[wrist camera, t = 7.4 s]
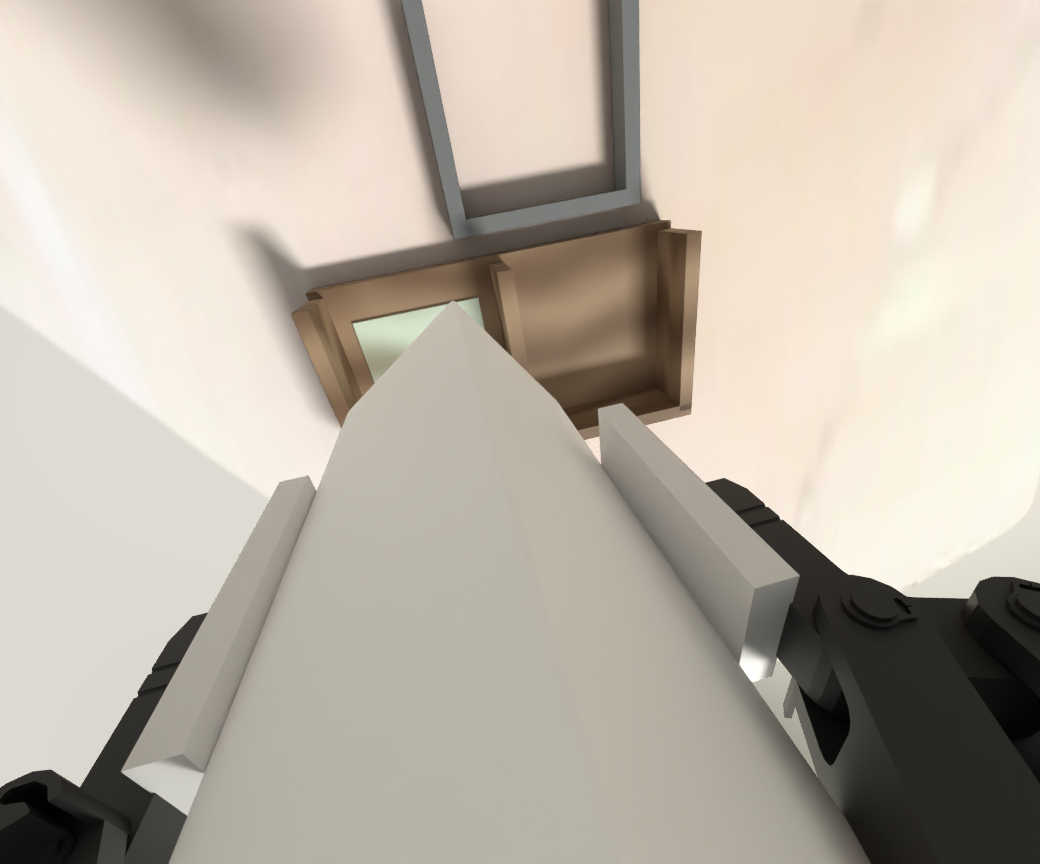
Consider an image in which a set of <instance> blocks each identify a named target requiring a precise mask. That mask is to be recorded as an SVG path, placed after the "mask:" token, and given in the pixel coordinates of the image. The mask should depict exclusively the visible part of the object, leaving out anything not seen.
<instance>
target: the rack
mask: <svg viewBox="0 0 1040 864" xmlns="http://www.w3.org/2000/svg"><path fill="white" fill-rule="evenodd" d="M701 235H702V231H696V230H684V229H673V228H671V221H669V220H659V221H653V222H648V223H643V224H638V225H633V226H628V227H623V228H618V229H613V230H608V231H603V232H598V233H593V234H588V235H583V236H578V237H573V238H568V239H563V240H558V241H553V242H548V243H543V244H538V245H533V246H528V247H523V248H518V249H513V250H508V251H503V252H498V253H493V254H488V255H483V256H478V257H473V258H468V259H462V260H457V261H452V262H447V263H442V264H437V265H432V266H427V267H422V268H417V269H412V270H407V271H402V272H397V273H392V274H387V275H382V276H377V277H372V278H367V279H362V280H357V281H352V282H347V283H342V284H337V285H332V286H327V287H322V288H317V289H312V290H310V291H309V292H307V293H306V296H307V298H308V300H309V301H308V302H307V303H305V304H304V305H303V306H301V307H300V308H299V309H298V310H296V311H295V312H294V313H292V314H291V316H292V318H293V320H294V322H295V325H296V327H297V329H298V331H299V334H300V336H301V338H302V340H303V343H304V345H305V347H306V349H307V352H308V354H309V356H310V358H311V361H312V363H313V365H314V367H315V370H316V372H317V374H318V376H319V379H320V381H321V383H322V385H323V388H324V390H325V392H326V394H327V397H328V399H329V401H330V403H331V406H332V408H333V410H334V412H335V415H336V417H337V419H338V421H339V424H340V426H341V428H342V426H343V424H344V421H345V419H346V416H347V414H348V412H349V411H350V409H351V408H352V407H353V406H354V405H355V404H356V403H357V402H358V401H359V400H360V399H361V398H362V396H363V395H364V394H365V393H366V392H367V391H368V390H369V389H370V388H371V387H372V386H373V385H374V384H375V382H376V381H377V380H378V379H379V378H380V377H381V376H382V375H383V374H384V373H385V372H386V371H387V370H388V368H389V367H390V366H391V365H392V364H393V363H394V362H395V361H396V360H397V359H398V358H399V357H400V356H401V354H402V353H403V352H404V351H405V350H406V349H407V348H408V347H409V346H410V345H411V344H412V343H413V342H414V340H415V339H416V338H417V337H418V336H419V335H420V334H421V333H422V332H423V331H424V330H425V329H426V328H427V326H428V325H429V324H430V323H431V322H432V321H433V320H434V319H435V318H436V317H437V316H438V315H439V314H440V312H441V311H442V310H443V309H444V308H445V307H446V306H447V305H448V304H449V303H450V302H451V301H455V302H456V303H457V304H458V305H459V306H460V307H461V308H462V309H463V310H464V311H465V312H466V313H467V314H469V315H470V316H471V317H472V318H473V319H474V320H475V321H476V322H477V323H478V324H479V325H480V326H481V327H482V328H483V329H484V330H485V331H486V332H487V333H488V334H489V335H490V336H491V337H492V338H493V339H494V340H495V341H496V342H497V343H498V344H499V345H500V346H501V347H502V348H503V349H504V350H505V351H506V352H507V353H508V354H509V355H510V356H512V357H513V358H514V359H515V360H516V361H517V362H518V363H519V364H520V365H521V366H522V367H523V368H524V369H525V370H526V371H527V372H528V373H529V374H530V375H531V376H532V377H533V378H534V379H535V380H536V381H537V382H538V383H539V384H540V385H541V386H542V387H543V388H544V389H545V390H546V391H547V392H548V393H549V394H550V395H551V396H552V397H553V398H555V399H556V401H557V402H558V403H559V405H560V406H561V407H562V409H563V410H564V412H565V413H566V415H567V416H568V418H569V419H570V420H571V422H572V423H573V425H574V426H575V428H576V429H577V431H578V432H579V433H580V435H581V436H582V438H583V439H584V440H586V439H590V438H594V437H598V436H600V435H599V419H598V409H599V408H603V407H607V406H611V405H616V404H620V403H623V404H624V405H625V406H626V407H627V408H628V409H629V410H630V411H631V412H632V413H633V414H634V415H635V416H636V417H637V418H638V419H640V420H641V421H642V422H643V423H644V424H645V425H648V424H652V423H657V422H661V421H665V420H669V419H673V418H677V417H682V416H686V415H690V414H691V405H692V388H693V371H694V354H695V337H696V320H697V303H698V286H699V269H700V252H701Z"/></svg>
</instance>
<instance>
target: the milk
mask: <svg viewBox="0 0 1040 864" xmlns="http://www.w3.org/2000/svg"><path fill="white" fill-rule="evenodd" d="M169 864H871V862H870V861H869V859H868V857H867V855H866V853H865V852H864V850H863V848H862V846H861V844H860V843H859V841H858V839H857V837H856V835H855V834H854V832H853V830H852V828H851V826H850V825H849V823H848V821H847V819H846V818H845V816H844V815H843V813H842V812H841V811H840V809H839V808H838V806H837V805H836V803H835V802H834V800H833V799H832V798H831V796H830V795H829V793H828V792H827V790H826V789H825V787H824V786H823V785H822V783H821V782H820V780H819V779H818V777H817V776H816V774H815V773H814V772H813V770H812V769H811V767H810V766H809V764H808V763H807V761H806V760H805V759H804V757H803V756H802V754H801V753H800V751H799V750H798V749H797V747H796V746H795V744H794V743H793V741H792V740H791V739H790V737H789V735H788V734H787V733H786V731H785V730H784V728H783V727H782V725H781V724H780V722H779V721H778V720H777V718H776V717H775V715H774V714H773V712H772V711H771V710H770V708H769V707H768V705H767V704H766V702H765V701H764V699H763V698H762V697H761V695H760V694H759V692H758V691H757V689H756V688H755V686H754V685H753V684H752V682H751V681H750V679H749V678H748V676H747V675H746V673H745V672H744V670H743V669H742V668H741V666H740V665H739V663H738V662H737V661H736V659H735V658H734V656H733V655H732V653H731V652H730V650H729V649H728V648H727V646H726V645H725V643H724V642H723V640H722V639H721V637H720V636H719V635H718V633H717V632H716V630H715V629H714V627H713V626H712V624H711V623H710V622H709V620H708V619H707V617H706V616H705V614H704V613H703V611H702V610H701V609H700V607H699V606H698V604H697V603H696V601H695V600H694V598H693V597H692V595H691V594H690V593H689V591H688V590H687V588H686V587H685V585H684V584H683V582H682V581H681V580H680V578H679V577H678V575H677V574H676V572H675V571H674V569H673V568H672V567H671V565H670V564H669V562H668V561H667V559H666V558H665V556H664V555H663V554H662V552H661V551H660V549H659V548H658V546H657V545H656V543H655V542H654V541H653V539H652V538H651V536H650V535H649V533H648V532H647V530H646V529H645V528H644V526H643V525H642V523H641V522H640V520H639V519H638V517H637V516H636V514H635V513H634V512H633V510H632V509H631V507H630V506H629V504H628V503H627V501H626V500H625V499H624V497H623V496H622V494H621V493H620V491H619V490H618V488H617V487H616V486H615V484H614V483H613V481H612V480H611V478H610V477H609V475H608V474H607V473H606V471H605V470H604V468H603V467H602V465H601V464H600V462H599V461H598V459H597V458H596V457H595V455H594V454H593V452H592V451H591V449H590V448H589V446H588V445H587V444H586V442H585V441H584V439H583V438H582V436H581V435H580V433H579V432H578V431H577V429H576V428H575V426H574V425H573V423H572V422H571V420H570V419H569V418H568V416H567V415H566V413H565V412H564V410H563V409H562V407H561V406H560V405H559V403H558V402H557V401H556V399H555V398H553V397H552V396H551V395H550V394H549V393H548V392H547V391H546V390H545V389H544V388H543V387H542V386H541V385H540V384H539V383H538V382H537V381H536V380H535V379H534V378H533V377H532V376H531V375H530V374H529V373H528V372H527V371H526V370H525V369H524V368H523V367H522V366H521V365H520V364H519V363H518V362H517V361H516V360H515V359H514V358H513V357H512V356H510V355H509V354H508V353H507V352H506V351H505V350H504V349H503V348H502V347H501V346H500V345H499V344H498V343H497V342H496V341H495V340H494V339H493V338H492V337H491V336H490V335H489V334H488V333H487V332H486V331H485V330H484V329H483V328H482V327H481V326H480V325H479V324H478V323H477V322H476V321H475V320H474V319H473V318H472V317H471V316H470V315H469V314H467V313H466V312H465V311H464V310H463V309H462V308H461V307H460V306H459V305H458V304H457V303H456V302H455V301H451V302H450V303H449V304H448V305H447V306H446V307H445V308H444V309H443V310H442V311H441V312H440V314H439V315H438V316H437V317H436V318H435V319H434V320H433V321H432V322H431V323H430V324H429V325H428V326H427V328H426V329H425V330H424V331H423V332H422V333H421V334H420V335H419V336H418V337H417V338H416V339H415V340H414V342H413V343H412V344H411V345H410V346H409V347H408V348H407V349H406V350H405V351H404V352H403V353H402V354H401V356H400V357H399V358H398V359H397V360H396V361H395V362H394V363H393V364H392V365H391V366H390V367H389V368H388V370H387V371H386V372H385V373H384V374H383V375H382V376H381V377H380V378H379V379H378V380H377V381H376V382H375V384H374V385H373V386H372V387H371V388H370V389H369V390H368V391H367V392H366V393H365V394H364V395H363V396H362V398H361V399H360V400H359V401H358V402H357V403H356V404H355V405H354V406H353V407H352V408H351V409H350V411H349V412H348V414H347V416H346V419H345V421H344V424H343V426H342V429H341V431H340V434H339V436H338V439H337V441H336V444H335V446H334V449H333V451H332V454H331V456H330V459H329V462H328V464H327V467H326V469H325V472H324V474H323V477H322V479H321V482H320V484H319V487H318V489H317V492H316V494H315V497H314V499H313V502H312V504H311V507H310V509H309V512H308V514H307V517H306V519H305V522H304V524H303V527H302V529H301V532H300V534H299V537H298V539H297V542H296V544H295V547H294V549H293V552H292V554H291V557H290V559H289V562H288V565H287V567H286V570H285V572H284V575H283V577H282V580H281V582H280V585H279V587H278V590H277V592H276V595H275V597H274V600H273V602H272V605H271V607H270V610H269V612H268V615H267V617H266V620H265V622H264V625H263V627H262V630H261V632H260V635H259V637H258V640H257V642H256V645H255V647H254V650H253V652H252V655H251V657H250V660H249V663H248V665H247V668H246V670H245V673H244V675H243V678H242V680H241V683H240V685H239V688H238V690H237V693H236V695H235V698H234V700H233V703H232V705H231V708H230V710H229V713H228V715H227V718H226V720H225V723H224V725H223V728H222V730H221V733H220V735H219V738H218V740H217V743H216V745H215V748H214V750H213V753H212V755H211V758H210V761H209V763H208V766H207V768H206V771H205V773H204V776H203V778H202V781H201V783H200V786H199V788H198V791H197V793H196V796H195V798H194V801H193V803H192V806H191V808H190V811H189V813H188V816H187V818H186V821H185V823H184V826H183V828H182V831H181V833H180V836H179V838H178V841H177V843H176V846H175V848H174V851H173V853H172V856H171V858H170V861H169Z"/></svg>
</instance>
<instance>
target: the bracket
mask: <svg viewBox="0 0 1040 864" xmlns="http://www.w3.org/2000/svg"><path fill="white" fill-rule="evenodd" d="M401 3H402V8H403V13H404V17H405V22H406V26H407V31H408V35H409V40H410V44H411V49H412V53H413V58H414V62H415V67H416V71H417V76H418V80H419V85H420V89H421V94H422V98H423V103H424V107H425V112H426V116H427V121H428V125H429V130H430V134H431V139H432V143H433V148H434V152H435V157H436V161H437V166H438V170H439V175H440V179H441V184H442V188H443V193H444V198H445V202H446V207H447V211H448V216H449V220H450V225H451V229H452V234H453V238H454V239H461V238H466V237H471V236H476V235H481V234H486V233H491V232H496V231H502V230H507V229H512V228H517V227H522V226H527V225H532V224H538V223H543V222H548V221H553V220H558V219H563V218H568V217H574V216H579V215H584V214H589V213H594V212H599V211H604V210H609V209H615V208H620V207H625V206H630V205H635V204H640V203H641V178H640V70H639V0H608V10H609V38H610V65H611V92H612V119H613V147H614V174H615V190H614V191H609V192H604V193H599V194H594V195H588V196H583V197H578V198H573V199H567V200H562V201H557V202H552V203H546V204H541V205H536V206H531V207H525V208H520V209H515V210H510V211H505V212H499V213H494V214H489V215H484V216H478V217H473V218H468V219H466V217H465V212H464V207H463V202H462V197H461V193H460V188H459V183H458V178H457V173H456V168H455V163H454V158H453V153H452V148H451V143H450V138H449V133H448V129H447V124H446V119H445V114H444V109H443V104H442V99H441V94H440V89H439V84H438V79H437V74H436V69H435V65H434V60H433V55H432V50H431V45H430V40H429V35H428V30H427V25H426V20H425V15H424V10H423V6H422V1H421V0H401Z"/></svg>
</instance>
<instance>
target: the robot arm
mask: <svg viewBox="0 0 1040 864" xmlns="http://www.w3.org/2000/svg"><path fill="white" fill-rule="evenodd" d="M598 419H599V435H600V451H601V465H602V467H603V468H604V470H605V471H606V473H607V474H608V475H609V477H610V478H611V480H612V481H613V483H614V484H615V486H616V487H617V488H618V490H619V491H620V493H621V494H622V496H623V497H624V499H625V500H626V501H627V503H628V504H629V506H630V507H631V509H632V510H633V512H634V513H635V514H636V516H637V517H638V519H639V520H640V522H641V523H642V525H643V526H644V528H645V529H646V530H647V532H648V533H649V535H650V536H651V538H652V539H653V541H654V542H655V543H656V545H657V546H658V548H659V549H660V551H661V552H662V554H663V555H664V556H665V558H666V559H667V561H668V562H669V564H670V565H671V567H672V568H673V569H674V571H675V572H676V574H677V575H678V577H679V578H680V580H681V581H682V582H683V584H684V585H685V587H686V588H687V590H688V591H689V593H690V594H691V595H692V597H693V598H694V600H695V601H696V603H697V604H698V606H699V607H700V609H701V610H702V611H703V613H704V614H705V616H706V617H707V619H708V620H709V622H710V623H711V624H712V626H713V627H714V629H715V630H716V632H717V633H718V635H719V636H720V637H721V639H722V640H723V642H724V643H725V645H726V646H727V648H728V649H729V650H730V652H731V653H732V655H733V656H734V658H735V659H736V661H737V662H738V663H739V665H740V666H741V668H742V669H743V670H744V672H745V673H746V675H747V676H748V678H749V679H750V681H751V682H755V681H758V680H761V679H764V678H767V677H771V676H772V675H773V671H774V667H775V663H776V660H777V657H778V659H779V660H780V661H781V662H782V664H783V665H784V666H785V668H786V669H787V670H788V671H789V673H790V674H791V675H792V678H791V682H790V685H789V688H788V691H787V694H786V697H785V701H784V703H783V707H784V717H786V718H792V715H793V712H794V709H795V707H796V710H797V713H798V716H799V720H800V723H801V726H802V729H803V732H804V735H805V738H806V742H807V744H808V747H809V751H810V754H811V757H812V760H813V764H814V766H815V770H816V773H817V776H818V779H819V780H820V782H821V783H822V785H823V786H824V787H825V789H826V790H827V792H828V793H829V795H830V796H831V798H832V799H833V800H834V802H835V803H836V805H837V806H838V808H839V809H840V811H841V812H842V813H843V815H844V816H845V818H846V819H847V821H848V823H849V825H850V826H851V828H852V830H853V832H854V834H855V835H856V837H857V839H858V841H859V843H860V844H861V846H862V848H863V850H864V852H865V853H866V855H867V857H868V859H869V861H870V862H871V864H1040V584H1039V583H1036V582H1031V581H1027V580H1023V579H1019V578H1015V577H991V578H988V579H985V580H982V581H980V582H979V583H978V585H977V587H976V588H975V590H974V591H973V593H972V595H971V597H970V598H969V599H957V598H955V599H954V598H915V597H906V596H905V595H903V594H902V593H900V592H899V591H897V590H896V589H894V588H893V587H891V586H889V585H886V584H884V583H881V582H879V581H876V580H874V579H871V578H866V577H861V576H855V575H848V574H846V573H845V572H843V571H842V570H841V569H840V568H838V567H837V566H836V565H835V564H834V563H833V562H831V561H830V560H829V559H828V558H827V557H826V556H824V555H823V554H822V553H821V552H820V551H819V550H818V549H816V548H815V547H814V546H813V545H812V544H811V543H809V542H808V541H807V540H806V539H805V538H804V537H802V536H801V535H800V534H799V533H798V532H797V531H795V530H794V529H793V528H792V527H791V526H790V525H789V524H787V523H786V522H785V521H784V520H780V518H779V516H778V515H777V514H776V513H775V512H773V511H772V510H771V509H770V508H769V507H765V504H764V503H763V502H762V501H761V500H760V499H758V498H757V497H756V496H755V495H754V494H753V493H751V492H750V491H749V490H748V489H746V488H744V487H742V486H740V485H738V484H736V483H734V482H732V481H729V480H727V479H725V478H723V479H719V480H715V481H711V482H707V483H704V482H703V481H702V480H701V479H700V478H699V477H698V476H697V475H696V474H695V473H694V472H693V471H692V470H691V469H690V468H689V467H688V466H687V465H686V464H685V463H684V462H683V461H682V460H681V459H680V458H679V457H678V456H676V455H675V454H674V453H673V452H672V451H671V450H670V449H669V448H668V447H667V446H666V445H665V444H664V443H663V442H662V441H661V440H660V439H659V438H658V437H657V436H656V435H655V434H654V433H653V432H652V431H651V430H650V429H649V428H648V427H647V426H646V425H645V424H644V423H643V422H642V421H641V420H640V419H638V418H637V417H636V416H635V415H634V414H633V413H632V412H631V411H630V410H629V409H628V408H627V407H626V406H625V405H624V404H623V403H620V404H616V405H611V406H607V407H603V408H599V409H598ZM316 492H317V491H316V489H315V487H314V486H313V484H312V482H311V480H310V478H309V476H305V477H300V478H296V479H292V480H287V481H283V482H280V483H279V484H278V486H277V488H276V490H275V492H274V494H273V495H272V497H271V499H270V501H269V503H268V504H267V506H266V508H265V510H264V512H263V514H262V515H261V518H260V519H259V521H258V523H257V524H256V526H255V528H254V530H253V532H252V534H251V535H250V537H249V539H248V541H247V543H246V545H245V547H244V548H243V550H242V552H241V554H240V555H239V557H238V559H237V561H236V563H235V565H234V566H233V568H232V570H231V572H230V574H229V575H228V577H227V579H226V581H225V583H224V585H223V586H222V588H221V590H220V592H219V594H218V595H217V597H216V599H215V601H214V603H213V604H212V606H211V608H210V610H209V612H208V613H204V614H201V615H197V616H192V617H191V618H190V620H189V621H188V622H187V623H186V624H185V625H184V626H183V627H182V628H181V629H180V630H179V631H178V632H177V633H176V634H175V635H174V636H173V637H172V638H171V640H170V641H169V642H168V643H167V645H166V646H165V648H164V650H163V651H162V653H161V654H160V656H159V658H158V659H157V661H156V663H155V664H154V666H153V668H152V674H149V675H148V676H147V678H146V679H145V681H144V683H143V684H142V686H141V688H140V689H139V691H138V697H137V698H134V699H133V701H132V702H131V704H130V706H129V708H128V709H127V711H126V712H125V714H124V716H123V717H122V719H121V721H120V723H119V724H118V726H117V727H116V729H115V730H114V732H113V734H112V735H111V737H110V739H109V740H108V742H107V744H106V745H105V747H104V749H103V750H102V752H101V754H100V755H99V757H98V759H97V760H96V762H95V764H94V765H93V767H92V769H91V770H90V772H89V774H88V775H87V777H86V778H85V780H84V782H83V783H82V785H81V787H78V786H76V785H75V784H73V783H72V782H70V781H68V780H67V779H65V778H64V777H62V776H60V775H59V774H57V773H56V772H54V771H52V770H43V771H35V772H31V773H29V774H26V775H24V776H22V777H20V778H17V779H15V780H13V781H11V782H9V783H7V784H5V785H4V786H2V787H1V788H0V864H169V861H170V858H171V856H172V853H173V851H174V848H175V846H176V843H177V841H178V838H179V836H180V833H181V831H182V828H183V826H184V823H185V821H186V818H187V816H188V813H189V811H190V808H191V806H192V803H193V801H194V798H195V796H196V793H197V791H198V788H199V786H200V783H201V781H202V778H203V776H204V773H205V771H206V768H207V766H208V763H209V761H210V758H211V755H212V753H213V750H214V748H215V745H216V743H217V740H218V738H219V735H220V733H221V730H222V728H223V725H224V723H225V720H226V718H227V715H228V713H229V710H230V708H231V705H232V703H233V700H234V698H235V695H236V693H237V690H238V688H239V685H240V683H241V680H242V678H243V675H244V673H245V670H246V668H247V665H248V663H249V660H250V657H251V655H252V652H253V650H254V647H255V645H256V642H257V640H258V637H259V635H260V632H261V630H262V627H263V625H264V622H265V620H266V617H267V615H268V612H269V610H270V607H271V605H272V602H273V600H274V597H275V595H276V592H277V590H278V587H279V585H280V582H281V580H282V577H283V575H284V572H285V570H286V567H287V565H288V562H289V559H290V557H291V554H292V552H293V549H294V547H295V544H296V542H297V539H298V537H299V534H300V532H301V529H302V527H303V524H304V522H305V519H306V517H307V514H308V512H309V509H310V507H311V504H312V502H313V499H314V497H315V494H316Z"/></svg>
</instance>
